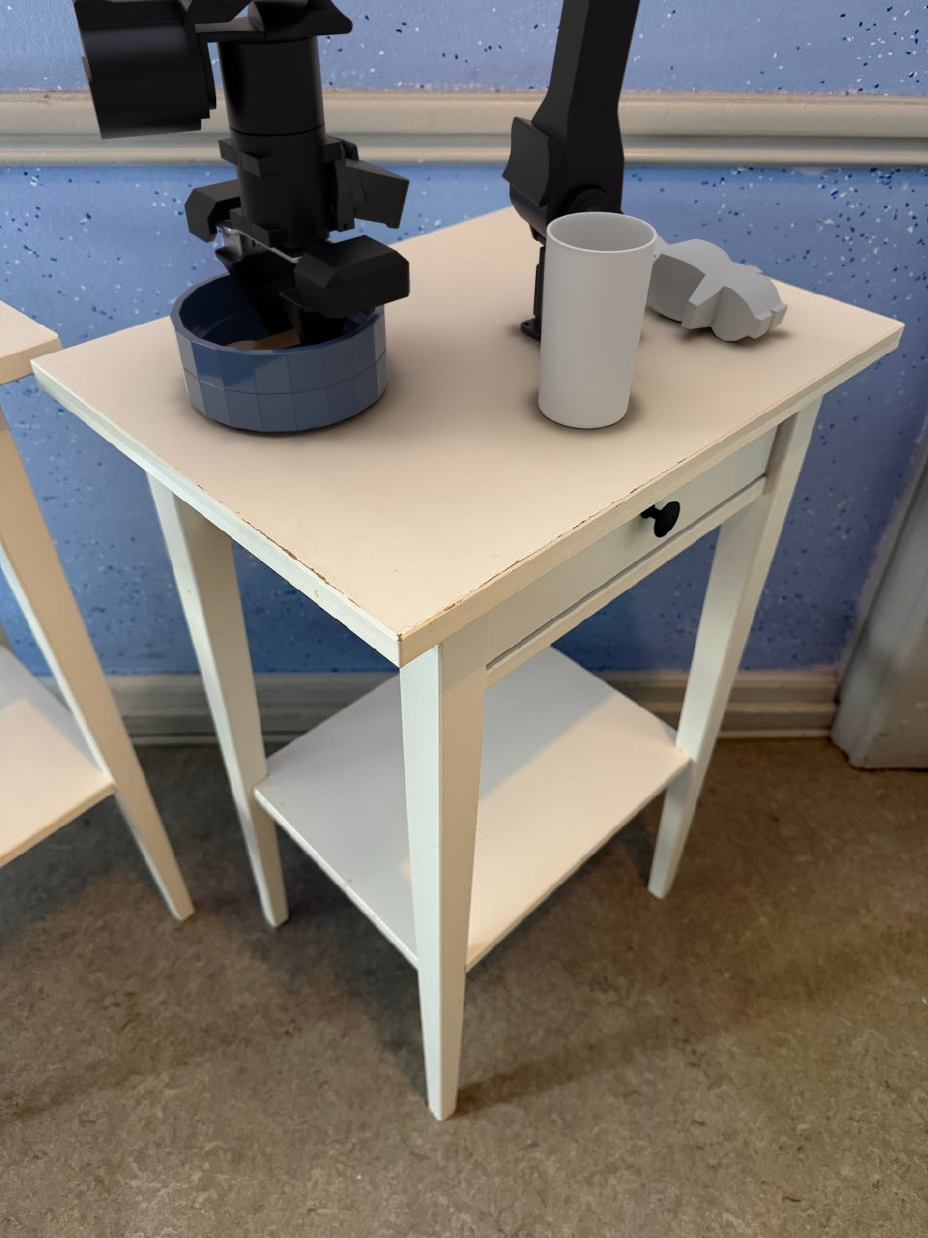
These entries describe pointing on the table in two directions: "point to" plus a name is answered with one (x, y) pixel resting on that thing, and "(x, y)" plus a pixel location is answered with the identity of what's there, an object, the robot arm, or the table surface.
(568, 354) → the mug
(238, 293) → the bowl
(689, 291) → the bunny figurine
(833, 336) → the table surface
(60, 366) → the table surface
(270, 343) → the brown round-ended block
